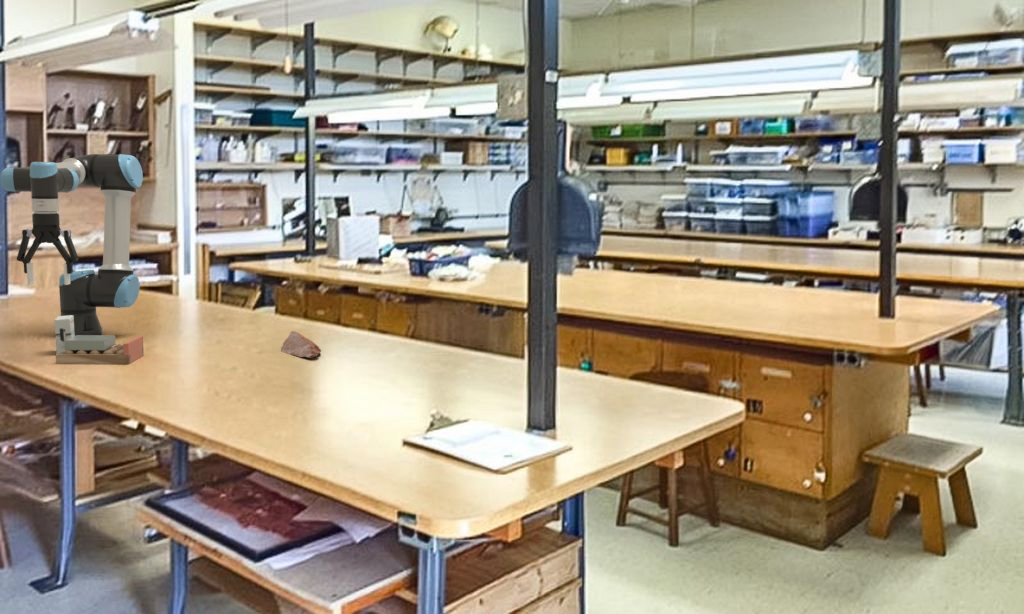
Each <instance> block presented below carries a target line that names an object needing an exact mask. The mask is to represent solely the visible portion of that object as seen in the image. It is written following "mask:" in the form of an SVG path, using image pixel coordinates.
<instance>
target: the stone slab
mask: <svg viewBox="0 0 1024 614" xmlns="http://www.w3.org/2000/svg"><path fill="white" fill-rule="evenodd" d="M116 341H117V340H116V335H113V334H112V335H110V334H106V335H104V334H102V335H76V336H74V337H71V338H69V339H67V340H64V342H65V350H106V349H108V348H110V347H114V346H116V345H117V343H116Z"/></svg>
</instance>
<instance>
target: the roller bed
mask: <svg viewBox="0 0 1024 614" xmlns="http://www.w3.org/2000/svg"><path fill="white" fill-rule="evenodd" d="M144 353H145V351H144V347H143V348H142V357H144V355H145V354H144ZM124 361H127V363H126V362H124ZM129 362H130V364H132V363H131V355H128V357H127V356H126V355H123V344H121V343H119V344H116V345H114V346H112V347H110V348H108V349H106V350H66V351H64V352H63V354H57V353H56V354H55V364H57V365H59V364H62V365H63V364H64V365H130V364H129Z"/></svg>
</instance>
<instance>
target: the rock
mask: <svg viewBox="0 0 1024 614" xmlns="http://www.w3.org/2000/svg"><path fill="white" fill-rule="evenodd" d="M287 336H288V337H287V338H286V339H285V340H284V341H283V343H282V346H281V347H280V352H281V353H284V354H288V355H290V356H295V357H298V358H309V359H312V358H314V357H317V356H318V355H319V356H320V355H321V354H322V353H321V351H322V350H321V348H320V346H318V345H317V344H316V342H313V340H312V339H310V338H307V337H305V336H304V335H302V334H301V333H299V332H297V331H294V330H293V331H290V333H289V335H287Z"/></svg>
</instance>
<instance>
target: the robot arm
mask: <svg viewBox="0 0 1024 614" xmlns="http://www.w3.org/2000/svg"><path fill="white" fill-rule="evenodd" d="M29 164H30V165H29V166H24V167H15V166H12V167H5V168H4V169H3V170H2V171H1V173H0V185H1V187H2V188H3V189H4V190H5V191H7V192H15V193H17V192H19V193H22V192H26V193H27V192H28V193H29V192H31V197H30V198H31V211H32V212H34V213H32V214H31V216H32V229H28V228H27V229H23V230H21V234H22V235H21V237H22V239H21V242H20V245H19V249H18V252H17V253H18V254H17V256H16V260H17V262H21V263H23V273H24V274H27V275H26V279H27V280H26V281H27V285H33V284H35V282H34V281H35V279H34V277H35V276H34V262H32V261H31V260H32V259H33V257H34V255H35V253H36V252H37V251H38V248H39V247H40V246H41V244H45V243H47V244H52V245H54V247H55V248H56V249H57V251H58V253H59V254H60V255H61V257H62V259H63V260H64V262H65V263H63V273H62V274H61V275H60V276H59V281H58V283H59V284H58V289H59V304H60V306H59V307H60V308H59V309H60V316H68V315H73V316H74V333H75V336H76V335H103V327H102V325H101V322H100V319H99V317H98V314H97V308H113V309H114V308H115V309H120V308H122V309H124V308H130V307H132V306H133V305H134V304H135V303H136V301H137V300H138V297H139V294H140V288H141V283H140V282H139V281H140V279H139V277H138V276H137V275H136V274H134V269H133V268H132V267H131V266H130V248H131V247H130V243H131V211H132V198H133V197H134V196H135V195H136V193H137V192H136V191H137V189H139V188H141V186H142V185H143V184H142V183H143V182H144V175H143V174H144V173H143V170H142V166H141V163H140V162H139V160H138V158H137V157H135V156H134V155H131V154H124V153H122V154H121V153H119V154H117V153H116V154H112V153H111V154H107V153H106V154H105V153H102V154H98V153H90V154H84V155H79V156H74V157H70V158H69V157H68V158H65V159H64V160H62V161H61V162H55V161H54V162H52V161H32V162H31V163H29ZM80 186H81V187H82V186H83V187H90V188H91V187H93V188H100V193H101V194H102V195H103V196H104V218H103V219H104V220H103V221H104V222H103V249H102V251H103V252H102V255H103V256H102V257H103V258H102V265H101V266H100V267H99V268H98V270H97V273H96V272H95V270H94V269H85V270H77V271H74V269H73V266H74V265H73V264H74V263H75V262H78V261H79V255H78V253H77V250H76V248H75V245H74V243H73V239H72V231H71V229H66V230H65V229H64V230H63V229H61V228H60V225H61V224H60V214H59V213H58V212H59V211H60V206H59V205H60V204H59V193H66V194H67V193H70V192H73V191H75V190H76V189H77V188H78V187H80ZM32 235H33V236H34V237H35V238H34V240H33V241H32V244H31V246H30V247H29V249H28V246H29V243H30V239H31V236H32ZM60 235H61V236H62V237H63V240H64V243H65V245H66V247H67V249H66V248H65V246H64V245H63V244H62V241H61V239H60ZM27 250H28V251H27Z"/></svg>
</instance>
